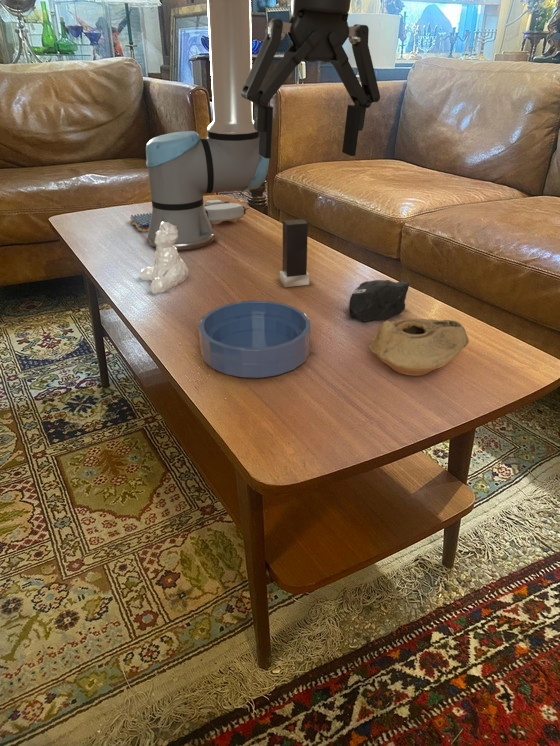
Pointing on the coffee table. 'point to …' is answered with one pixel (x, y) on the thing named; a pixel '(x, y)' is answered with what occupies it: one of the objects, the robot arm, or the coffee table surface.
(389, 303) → the mineral
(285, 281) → the eraser
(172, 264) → the white creature statuette
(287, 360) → the bowl
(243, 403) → the coffee table surface
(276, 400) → the coffee table surface
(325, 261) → the coffee table surface
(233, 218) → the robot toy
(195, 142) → the robot arm
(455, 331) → the oil lamp
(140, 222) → the woven mat
